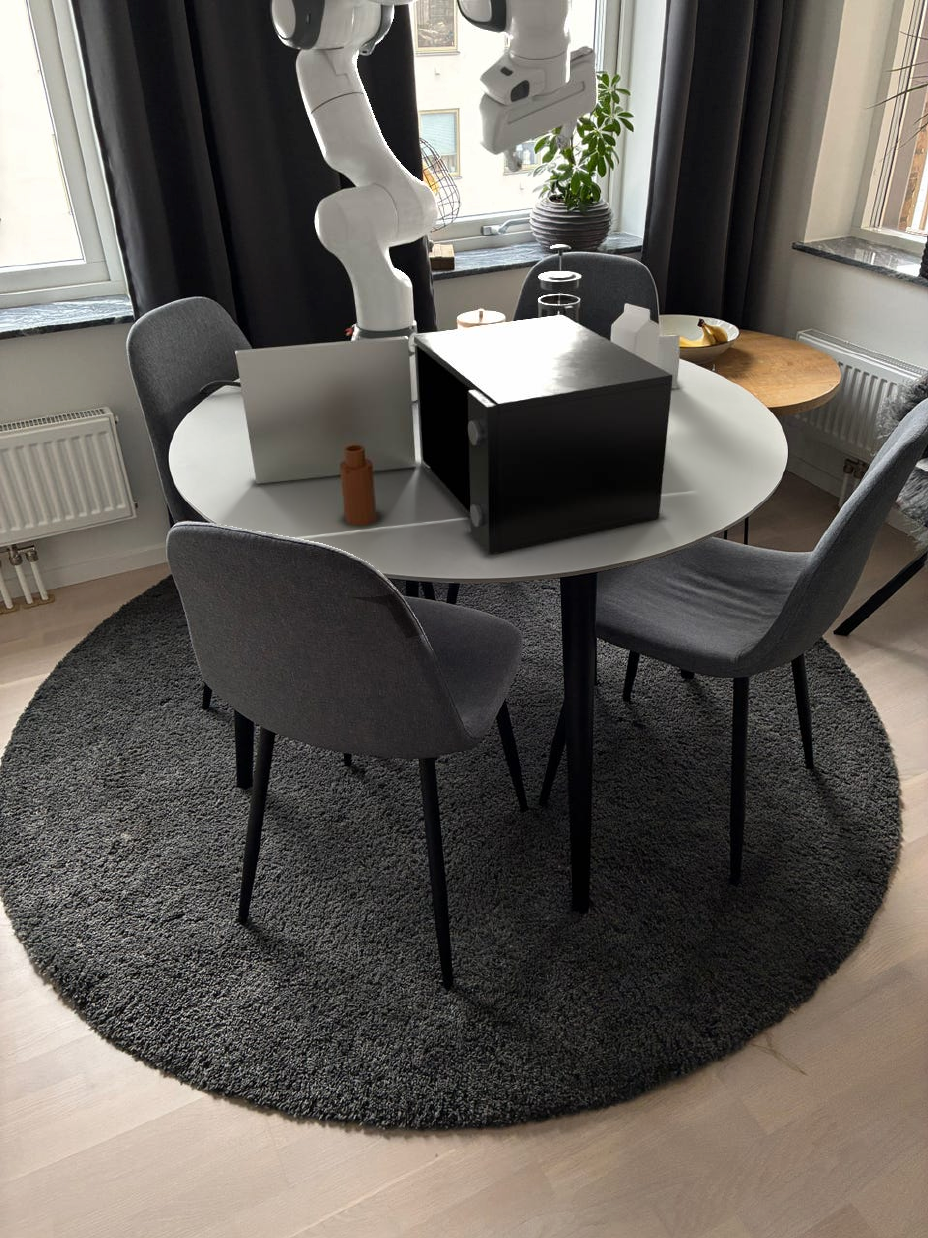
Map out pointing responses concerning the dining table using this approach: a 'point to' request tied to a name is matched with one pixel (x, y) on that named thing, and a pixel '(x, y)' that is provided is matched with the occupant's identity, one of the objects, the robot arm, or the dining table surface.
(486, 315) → the trinket box
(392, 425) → the microwave door
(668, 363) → the white small box
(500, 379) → the microwave
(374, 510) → the bottle
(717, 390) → the dining table surface
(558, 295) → the french press
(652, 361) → the milk
